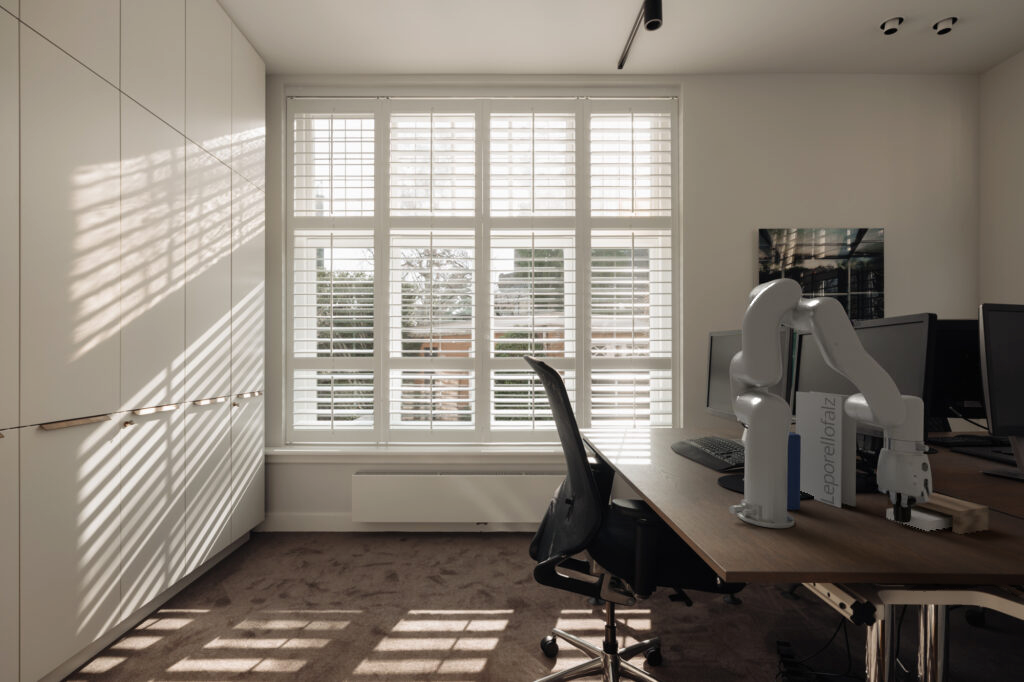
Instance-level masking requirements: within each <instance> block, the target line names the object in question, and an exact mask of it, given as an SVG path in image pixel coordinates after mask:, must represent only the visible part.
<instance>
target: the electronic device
mask: <svg viewBox="0 0 1024 682" xmlns="http://www.w3.org/2000/svg"><path fill="white" fill-rule="evenodd" d="M800 463H801V436H800V435H799V434H796V432H791V431H790V432H789V438H788V473H787V511H797V510H798V511H799V510H800V508H801V494H800Z"/></svg>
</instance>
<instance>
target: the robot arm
mask: <svg viewBox="0 0 1024 682" xmlns="http://www.w3.org/2000/svg"><path fill="white" fill-rule="evenodd" d="M802 295H803V290H802V287H801V284H799V282H798V281H797V280H795V279H792V278H787V277H786V278H785V277H783V278H777V279H773V280H771V281H768V282H767V281H766V282H765V283H760V284H759V285H757V286H755V287H754V288H752V290H751V291H750V293H749V295H748V307H747V309H746V311H745V313H744V315H743V318H742V323H741V350H740V351H738V352H737V353H736V354H735V355H734V356H733V357H732V359H731V360H730V364H729V384H730V395H731V397H730V398H731V404H732V405H731V406H732V410H733V413H734V415H735V416H736V418H737V419H738V420H739V421H740V422H742V424H743V423H744V424H745V425H748V426H747V431H746V436H745V438H744V439H745V440H744V483H743V484H744V488H743V490H744V491H743V492H744V493H743V494H744V496H743V497H744V498H743V499H740V503H739V504H738V505H737V504H735V505H729V507H728V511H729V513H730V514H732V515H734V514H737V517H738V518H739V519H740V520H742V521H744V522H746V523H748V524H752V525H755V526H757V527H763V528H770V529H788V528H792V527H793V526H794V525H795V519H794V517H793V516H792V515H790V514H789V513H788V510H787V473H788V438H789V432H791V428H792V427H791V426H792V423H793V422H792V421H793V420H792V419H793V414H792V410H791V407H790V405H789V403H788V402H787V400H786V399H784V398H783V397H781V396H780V395H778V394H775V393H772V392H769V388H771V387H772V386H776V385H777V384H778V383H779V382H780V381H781V379H782V378H783V377H782V376H783V361H782V350H781V337H780V333H781V331H780V330H781V325H783V326H785V327H789V328H791V329H795V330H798V331H801V332H802V331H803V332H810V333H811V335H812V338H813V339H814V341H815V343H816V345H817V348H818V349H819V352H820V354H821V355H822V357H823V359H824V362H825V363H826V364H827V366H829V367H830V368H831V369H833V370H834V371H836V372H837V373H839V374H841V375H842V376H844V377H845V378H847V380H849V381H850V382H851V383H852V384H854V386H855V387H856V388H857V390H858V391H860V392H858V393H854V394H852V395H849V396H850V397H849V398H848V399H847V400H846V402H845V405H844V408H845V411H846V413H847V415H848V416H849V417H851V418H852V419H854V420H855V421H856V422H859V423H861V424H866V425H869V426H874V427H879V428H881V429H883V447H882V448H881V449H880V453H879V455H878V460H877V468H876V484H877V485H878V487H877V490H878V491H879V492H881V493H883V494H884V495H886V496H887V498H888V497H889V498H890V499H891V503H892V504H894V505H893V515H894V520H895V521H894V522H896V521H899V522H900V523H899V522H898V523H899V524H902V523H906V522H910V519H911V506H914V504H916V503H928V502H929V499H928V496H929V495H931V494H932V492H933V481H932V480H933V478H932V470H931V465H930V460H929V457H928V454H925V453H924V452H928V451H929V449H930V447H929V445H926V444H925V441H924V419H925V418H924V414H925V412H924V409H925V406H924V405H925V403H924V401H923V399H922V398H921V397H918V396H914V395H909V394H908V395H905V394H901V392H900V390H899V389H898V386H897V385H896V383H895V382H894V380H893V379H892V376H890V374H889V373H888V372H887V371H886V370H885V369H884V368H883V367H882V366H881V365H880V364H879V363H878V362H877V361H876V360H875V359H874V358H873V357H872V356H871V355H870V354H869V353H868V352H867V351H866V349H865V348H864V347H863V345H862V342H861V340H860V338H859V336H858V335H857V333H856V331H855V329H854V327H853V325H852V323H851V321H850V319H849V318H850V317H849V316H848V314H847V313H846V310H845V309H844V307H843V305H842V303H841V302H840V301H839V300H837V299H836V298H834V297H829V296H820V297H812V298H806V297H802Z"/></svg>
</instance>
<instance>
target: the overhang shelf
mask: <svg viewBox="0 0 1024 682" xmlns="http://www.w3.org/2000/svg"><path fill="white" fill-rule="evenodd" d="M928 499H929V502H928V503H916V504H914V505H918V506H922V507H925V508H929V509H932V510H936V511H939V512H943V513H946V514H949V515H953V527H952V533H953V532H955V533H954V534H956V533H958V534H957V535H959V534H962V535H965V534H964V533H968V534H971V533H970V532H973V533H977V532H976V531H979V532H984V531H983V530H985V531H988V530H989V516H990V515H989V514H990V513H989V512H990V511H989V509H990V508H989V506H987V505H983V504H980V503H979V504H978V503H975V502H971V501H967V500H963V499H960V498H956V497H951V496H948V495H944V494H940V493H936V492H933V491H932V494H931V495H929V496H928ZM893 505H894V504H892V503H891V499H890V498H889V497H888V496H887V509H890V508H893Z"/></svg>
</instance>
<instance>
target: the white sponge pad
mask: <svg viewBox="0 0 1024 682" xmlns="http://www.w3.org/2000/svg"><path fill="white" fill-rule="evenodd" d="M885 513H886V519H887V518H888V519H887V520H890V519H891V520H890V521H893V520H894V515H893V508H890V509H888V508H886V512H885ZM893 522H896V521H895V520H894V521H893ZM896 523H899V521H897V522H896ZM905 524H907V525H906V526H908V525H910V526H909V527H911V526H913V527H912V528H914V527H916V528H915V529H917V528H919V529H918V530H920V529H922V530H921V531H923V530H925V531H924V532H926V531H927V532H931V531H930V530H933V531H937V530H936V529H939V530H944V529H943V528H945V529H950V528H949V527H952V528H953V515H949V514H946V513H943V512H939V511H936V510H932V509H929V508H925V507H922V506H918V505H914V506H911V519H910V522H906V523H903V525H905Z"/></svg>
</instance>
